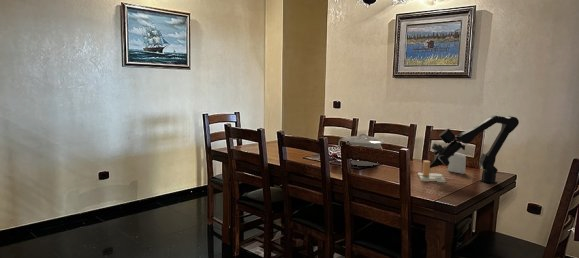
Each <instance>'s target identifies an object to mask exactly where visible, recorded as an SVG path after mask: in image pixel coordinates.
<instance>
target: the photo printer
mask: <svg viewBox="0 0 579 258" xmlns="http://www.w3.org/2000/svg"><path fill="white" fill-rule="evenodd" d="M448 161H449V165H448V166H447V171H448V172H451V173H457V174H461V175H464V174H465V173H466V163H467V162H466V161H467V156H466V154H464V153H462V152H458V151H457V152H456V153H455V154H454V156H451V157H450V158H448Z"/></svg>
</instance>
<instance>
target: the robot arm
mask: <svg viewBox="0 0 579 258" xmlns="http://www.w3.org/2000/svg"><path fill="white" fill-rule="evenodd" d="M519 123H520V121H519V119H518V118H517V117H516V116H511V115H508V116H502V115H501V116H499V115H495V114H493V115H491V116H489V118H487V119H485V120H484V121H482V122H481V123H479V124H478V125H476V126H474V127H472V128H471V129H468V130H465V131H463V132H460V133H458V134H454V133H453V132H452V130H451V129H450V128H447V129H446V130H445V129H444V131H441V132H440V133H439V135H438V137H439V139H441V140H442V141H443V142H444V143H445V144H447V146H443V145H441V144H438V143H435V142H433V144H432V146H431V149H432V150H433V154H434V155H433V156H434V158H433V160H432V161H431V162H430V169H432V168H436V167H439V166H442V165H443V166H444V165H445V166H446V167H448V165H449V158H450V157H451V156H454V154H455V153H456V152H457V153H458V151H459V150H460V149H462V150H463V151H465V150H466V145H467V144H470V143H471V142H473V140H475V138H476V137H477V136H478V135H480V134H481V133H482V132H485V130H487V129H490V128H491V127H492V126H493V125H495V124H501V127H500V131H499V133H498V134H497V136H496V137H495V139H494V141H493V143H492V145H491V146H490V147H489V149H488V151H487V152H486V153H482V154H481V156H480V158H479V163H478V164H479V165H480V167H482V173H481V179H480V180H479V181H480V182H482V183H486V184H498V181H496V176H497V173H498V172H499V171H498V170H499V169H498V168H497V167H495V164H496V158H497V155H498V154H499V152H500V150H501V148H503V147H502V146H503V145H504V144H505V141H506V140H507V138H508V137H509V135H510V133H512V132H513V131H514V130H515V129H516V128H517V127H518V125H519ZM462 143H463V144H462Z"/></svg>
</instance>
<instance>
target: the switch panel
mask: <svg viewBox="0 0 579 258" xmlns="http://www.w3.org/2000/svg"><path fill="white" fill-rule="evenodd" d="M417 177H418V179H419V180H420V181H421V182H429V181H437V182H436V183H446V179H445V177H444V176H443V174H441V173H433V172H431V173H430V172H429V176H424V175H423V172H417Z"/></svg>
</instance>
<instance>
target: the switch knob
mask: <svg viewBox="0 0 579 258" xmlns="http://www.w3.org/2000/svg"><path fill="white" fill-rule="evenodd" d="M430 164H431V161H430V160H426V159H425V160H424V159H423V163H422V173H423V175H424V176H429V173H430V172H431V171H430V170H431V168H430Z"/></svg>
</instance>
